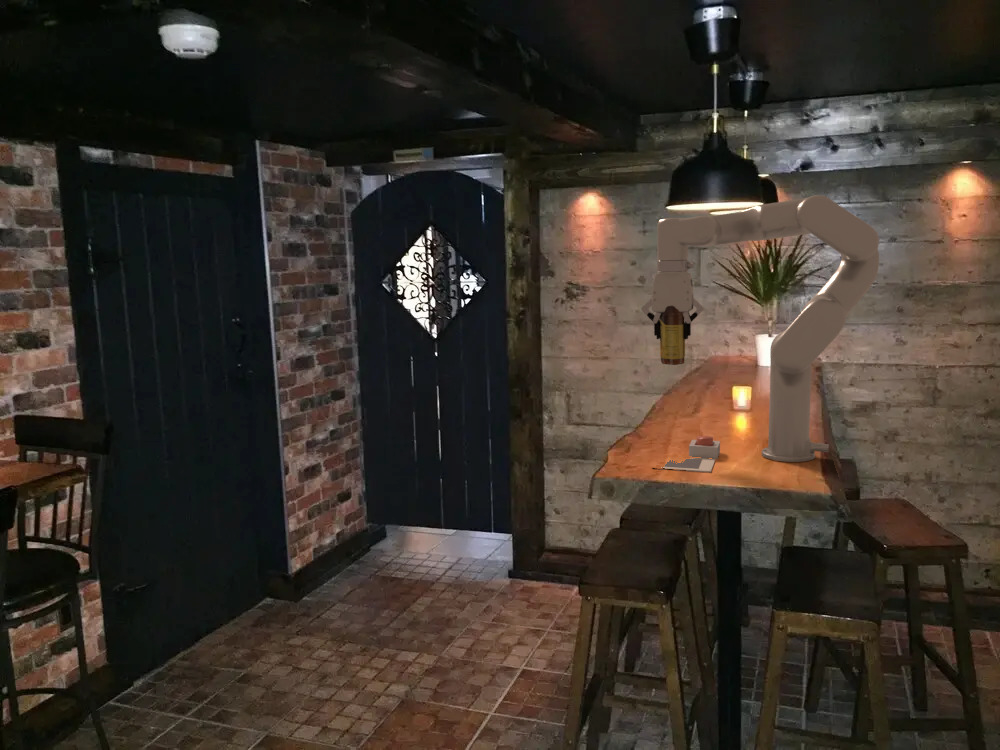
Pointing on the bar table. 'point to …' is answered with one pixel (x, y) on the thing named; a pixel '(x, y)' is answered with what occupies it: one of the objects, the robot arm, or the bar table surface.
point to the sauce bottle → (672, 336)
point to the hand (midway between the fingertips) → (672, 338)
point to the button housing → (704, 450)
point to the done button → (705, 440)
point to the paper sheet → (692, 465)
